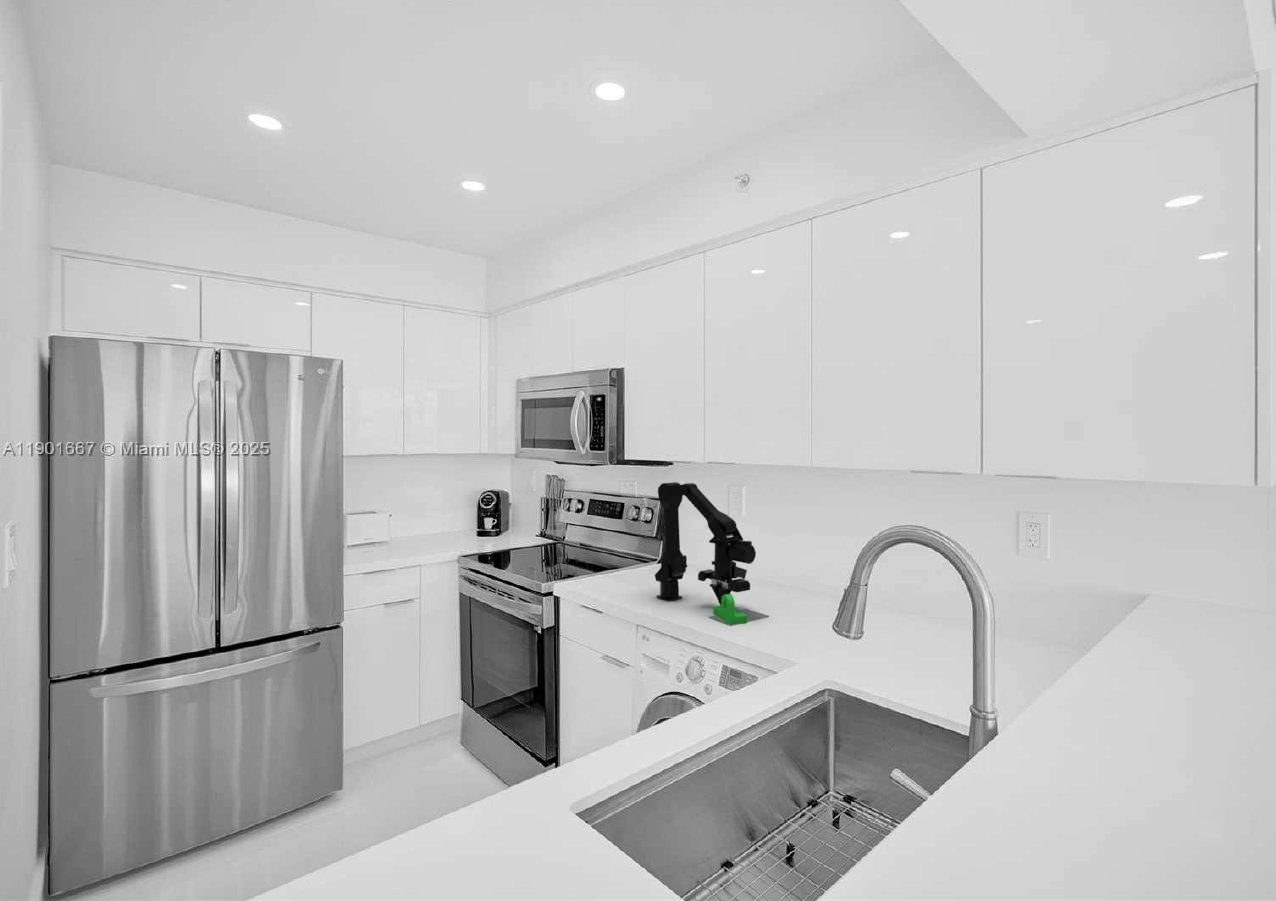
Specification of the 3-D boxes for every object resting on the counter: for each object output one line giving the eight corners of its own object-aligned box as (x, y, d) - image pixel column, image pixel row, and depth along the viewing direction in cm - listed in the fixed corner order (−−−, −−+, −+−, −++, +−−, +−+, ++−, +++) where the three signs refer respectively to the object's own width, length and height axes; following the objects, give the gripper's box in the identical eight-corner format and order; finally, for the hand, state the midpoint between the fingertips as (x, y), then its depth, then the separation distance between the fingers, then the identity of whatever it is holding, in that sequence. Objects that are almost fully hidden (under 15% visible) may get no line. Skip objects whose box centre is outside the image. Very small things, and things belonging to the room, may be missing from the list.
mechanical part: (747, 622, 184) (747, 595, 184) (728, 624, 183) (728, 597, 183) (730, 611, 196) (730, 586, 196) (713, 612, 194) (713, 587, 194)
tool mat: (708, 617, 190) (708, 616, 190) (746, 609, 199) (746, 608, 199) (730, 625, 182) (730, 625, 182) (769, 616, 191) (769, 615, 191)
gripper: (763, 561, 192) (762, 610, 193) (722, 550, 208) (722, 596, 209) (737, 565, 186) (736, 616, 187) (697, 554, 202) (696, 601, 202)
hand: (723, 607), depth 196 cm, fingers closed
